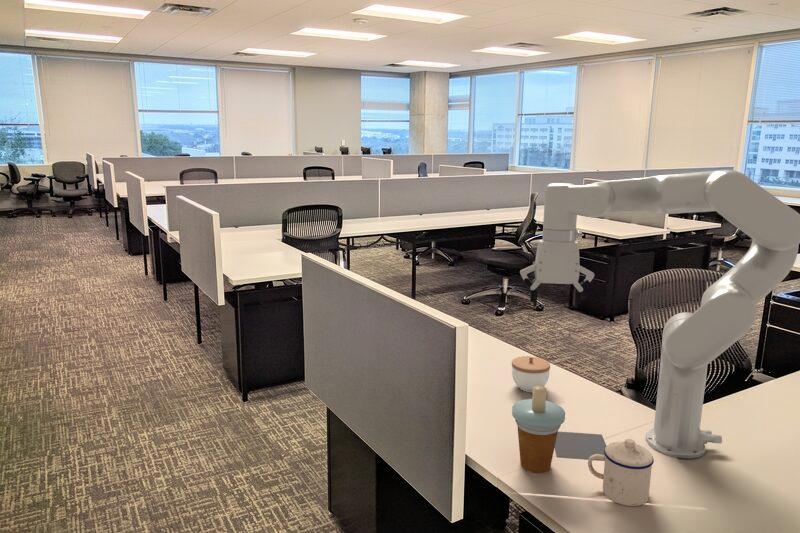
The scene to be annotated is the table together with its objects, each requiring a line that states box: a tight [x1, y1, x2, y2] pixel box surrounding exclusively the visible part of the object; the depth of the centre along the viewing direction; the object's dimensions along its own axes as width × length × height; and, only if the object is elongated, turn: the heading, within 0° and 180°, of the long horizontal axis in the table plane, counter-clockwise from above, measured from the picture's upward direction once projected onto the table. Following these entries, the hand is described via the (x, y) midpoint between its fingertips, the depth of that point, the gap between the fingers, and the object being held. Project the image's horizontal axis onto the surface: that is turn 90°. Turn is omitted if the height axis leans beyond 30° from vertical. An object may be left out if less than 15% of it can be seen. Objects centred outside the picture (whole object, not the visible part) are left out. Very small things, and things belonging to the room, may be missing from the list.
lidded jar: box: [511, 355, 551, 393], centre depth 164 cm, size 11×11×9 cm
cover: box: [511, 386, 566, 428], centre depth 122 cm, size 11×11×6 cm
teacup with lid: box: [587, 438, 655, 507], centre depth 115 cm, size 12×9×12 cm
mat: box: [554, 431, 607, 462], centre depth 133 cm, size 12×12×1 cm
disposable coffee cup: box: [514, 418, 562, 474], centre depth 124 cm, size 10×10×12 cm
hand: (554, 305), depth 139 cm, fingers open, 9 cm apart
